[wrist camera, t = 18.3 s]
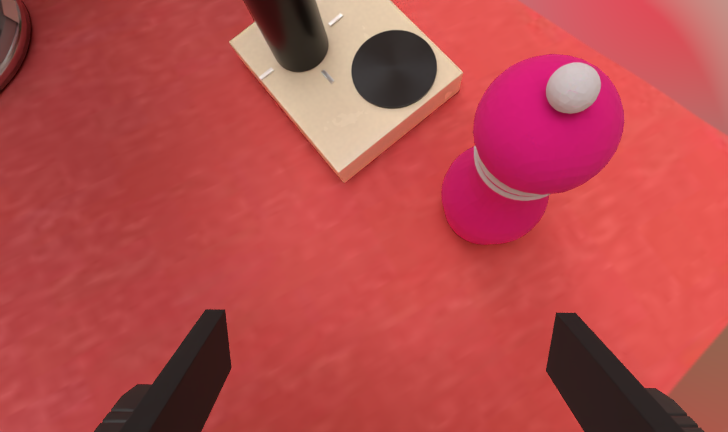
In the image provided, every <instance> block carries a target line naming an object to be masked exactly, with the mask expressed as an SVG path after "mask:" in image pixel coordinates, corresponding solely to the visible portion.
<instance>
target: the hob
mask: <svg viewBox="0 0 728 432" xmlns="http://www.w3.org/2000/svg"><path fill="white" fill-rule="evenodd" d="M316 3H317V6H318V9H319V12H320V15H321V18H322V22H323V25H324V28H325V31H326V34H327V37H328V43H329V46H328V51H327V54H326V56H325V58H324V59H323V61H322V62H321V63H320V64H319V65H318V66H316V67H315V68H313V69H311V70H308V71H305V72H292V71H289V70H286V69H285V68H283V67H282V66H281V65H280V64H279V63H278V62H277V60H276V58H275V57H274V55H273V53H272V51H271V49H270V48H269V46H268V44H267V42H266V40H265V39H264V37H263V35H262V33H261V31H260V30H259V28H258V26H257V24H256V22H254V23H253V24H251V25H250V26H249V27H247V28H246V29H245V30H243V31H242V32H241V33H240V34H238V35H237V36H236V37H234V38H233V39H232V40H231V41H229V43H230V45H231V46H232V47H233V49H234V50H235V52H236V53H237V55H238V56H239V57H240V59H241V60H242V62H243V63H244V64H245V65H246V66H247V68H248V69H249V70H250V71H251V72H252V74H253V75H254V76H255V77H256V78H257V80H258V81H259V82H260V83H261V84H262V86H263V87H264V88H265V89H266V90H267V92H268V93H269V94H270V95H271V96H272V98H273V99H274V100H275V101H276V102H277V104H278V105H279V106H280V107H281V108H282V110H283V111H284V112H285V113H286V114H287V116H288V117H289V118H290V119H291V120H292V122H293V123H294V124H295V125H296V126H297V128H298V129H299V130H300V131H301V132H302V134H303V135H304V136H305V137H306V138H307V140H308V141H309V142H310V143H311V144H312V146H313V147H314V148H315V149H316V150H317V152H318V153H319V154H320V155H321V156H322V158H323V159H324V160H325V161H326V162H327V164H328V165H329V166H330V167H331V168H332V170H333V171H334V172H335V173H336V174H337V176H338V177H339V178H340V179H341V180H342V182H343V183H345V182H347V181H348V180H349V179H350V178H351V177H353V176H354V175H355V174H356V173H358V172H359V171H360V170H361V169H363V168H364V167H365V166H366V165H368V164H369V163H370V162H371V161H373V160H374V159H375V158H376V157H378V156H379V155H380V154H381V153H383V152H384V151H385V150H386V149H388V148H389V147H390V146H391V145H393V144H394V143H395V142H396V141H397V140H399V139H400V138H401V137H402V136H404V135H405V134H406V133H407V132H409V131H410V130H411V129H412V128H414V127H415V126H416V125H417V124H419V123H420V122H421V121H422V120H424V119H425V118H426V117H427V116H429V115H430V114H431V113H432V112H434V111H435V110H436V109H437V108H439V107H440V106H441V105H442V104H443V103H445V102H446V101H447V100H448V99H450V98H451V97H452V96H453V95H455V94H456V93H457V92H458V91H459V89H460V85H461V80H462V76H463V72H462V71H461V70H460V69H459V68H458V67H457V66H456V65H455V64H454V63H453V62H452V61H451V60H450V59H449V58H448V57H447V56H446V55H445V54H444V53H443V52H442V51H441V50H440V49H439V48H438V47H437V46H436V45H435V44H434V43H433V42H432V41H431V40H430V39H429V38H428V37H427V36H426V35H425V34H424V33H423V32H422V31H421V30H420V29H419V28H418V27H417V26H416V25H415V24H414V23H413V22H412V21H411V20H410V19H409V18H408V17H407V16H406V15H405V14H404V13H403V12H402V11H401V10H400V9H398V8H397V7H396V6H395V5H394V4H393V3H392V2H391V1H390V0H316ZM389 30H404V31H409V32H412V33H414V34H416V35H418V36H420V37H421V38H423V39H424V40H425V41H426V42H427V43H428V44H429V45H430V46H431V48H432V49H433V51H434V54H435V57H436V61H437V73H436V78H435V81H434V83H433V85H432V87H431V89H430V90H429V91H428V93H427V94H426V95H425V96H424V97H423V98H421V99H420V100H419V101H417V102H415V103H414V104H412V105H409V106H406V107H403V108H396V109H388V108H382V107H378V106H375V105H373V104H371V103H369V102H368V101H366V100H365V99H364V98H363V97H362V96H361V95H360V94H359V93H358V91H357V90H356V88H355V86H354V83H353V80H352V74H351V68H352V62H353V59H354V56H355V54H356V52H357V51H358V49H359V48H360V46H361V45H362V44H363V43H364V42H365V41H366V40H368V39H369V38H371V37H372V36H374V35H376V34H378V33H381V32H384V31H389Z"/></svg>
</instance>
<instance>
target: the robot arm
mask: <svg viewBox="0 0 728 432" xmlns="http://www.w3.org/2000/svg"><path fill="white" fill-rule="evenodd" d="M30 35H31V24H30V18H29V14H28V11H27V9H26V7H25V5H24V3H23V2H22V1H21V0H0V91H1V90H2V89H3V88H4V87H5V86H6V85H7V84H8V83H9V81H10V80H11V79H12V78H13V76H14V75H15V74H16V72H17V71H18V69H19V68H20V66H21V64H22V62H23V60H24V58H25V55H26V53H27V50H28V46H29V42H30ZM230 370H231V359H230V350H229V341H228V332H227V323H226V314H225V310H205V311H204V313H203V314H202V315H201V317H200V318H199V320H198V321H197V322H196V324H195V325H194V327H193V328H192V329H191V331H190V332H189V334H188V335H187V336H186V338H185V339H184V341H183V342H182V343H181V345H180V346H179V348H178V349H177V350H176V352H175V353H174V355H173V356H172V357H171V359H170V360H169V362H168V363H167V364H166V366H165V367H164V369H163V370H162V371H161V373H160V374H159V376H158V377H157V378H156V380H155V381H154V383H153V384H152V385H148V384H137V385H136V386H135V387H133V388H132V389H131V390H129V391H128V392H127V393H125V394H124V395H123V396H122V397H121V398H120V399H119V400H118V402H117V403H116V404H115V405H114V407H113V408H112V409H111V412H109V413H108V414H107V416H106V417H105V418H104V419H103V422H102V423H100V425H99V426H98V427H97V428H96V430H95V431H94V432H201V431H202V429H203V427H204V424H205V422H206V420H207V418H208V416H209V414H210V412H211V410H212V408H213V406H214V403H215V401H216V399H217V397H218V395H219V393H220V391H221V389H222V387H223V385H224V382H225V380H226V378H227V376H228V374H229V372H230ZM546 372H547V373H548V375H549V376H550V378H551V379H552V381H553V383H554V384H555V386H556V387H557V389H558V391H559V392H560V394H561V395H562V397H563V399H564V400H565V402H566V403H567V405H568V406H569V408H570V410H571V411H572V413H573V414H574V416H575V418H576V419H577V421H578V422H579V424H580V425H581V427H582V429H583V430H584V432H704V431H703V430H702V429H701V428H698V425H697V424H696V423H695V422H694V421H693V420H692V419H691V418H690V417H689V416H687V414H686V412H684V410H682V408H681V407H680V406H679V405H678V404H677V403H676V402H675V401H674V400H672V399H671V398H669V397H668V396H666V395H665V394H663V393H662V392H660V391H659V390H657V389H656V388H644V387H643V386H642V385H641V383H640V382H639V381H638V380H637V379H636V378H635V377H634V376H633V375H632V374H631V373H630V372H629V370H628V369H627V368H626V367H625V366H624V365H623V364H622V363H621V362H620V361H619V360H618V359H617V357H616V356H615V355H614V354H613V353H612V352H611V351H610V350H609V349H608V348H607V347H606V345H605V344H604V343H603V342H602V341H601V340H600V339H599V338H598V337H597V336H596V335H595V334H594V332H593V331H592V330H591V329H590V328H589V327H588V326H587V325H586V324H585V323H584V322H583V321H582V319H581V318H580V317H579V316H578V315H577V314H576V313H556V317H555V322H554V328H553V334H552V340H551V345H550V351H549V357H548V362H547V368H546Z"/></svg>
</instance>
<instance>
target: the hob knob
mask: <svg viewBox="0 0 728 432" xmlns="http://www.w3.org/2000/svg"><path fill="white" fill-rule="evenodd" d="M243 1H244V3H245V5H246V6H247V8H248V10H249V12H250V14H251V15H252V17H253V19H254V21H255V22H256V24H257V26H258V28H259V30H260V31H261V33H262V35H263V37H264V39H265V40H266V42H267V44H268V46H269V48H270V49H271V51H272V53H273V55H274V57H275V58H276V60H277V62H278V63H279V64H280V65H281V66H282V67H283V68H285V69H286V70H289V71H292V72H305V71H308V70H311V69H313V68H315V67H316V66H318V65H319V64H320V63H321V62H322V61H323V59H324V58H325V56H326V54H327V51H328V46H329V43H328V37H327V34H326V31H325V28H324V25H323V22H322V18H321V15H320V12H319V9H318V6H317V3H316V0H243Z"/></svg>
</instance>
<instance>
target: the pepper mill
mask: <svg viewBox="0 0 728 432" xmlns="http://www.w3.org/2000/svg"><path fill="white" fill-rule="evenodd" d="M623 127H624V110H623V107H622V103H621V99H620V96H619V94H618V92H617V90H616V88H615V86H614V84H613V83H612V82H611V80H610V79H609V77H608V76H607V75H605V74H604V73H603V72H602V71H601V70H600V69H599V68H598V67H596V66H594V65H592V64H590V63H588V62H587V61H585V60H583V59H579V58H576V57H572V56H568V55H557V54H549V55H542V56H536V57H532V58H529V59H525V60H523V61H521V62H519V63H517V64H515V65H512V66H511V67H509V68H508V69H506V70H505V71H504V72H503V73H502V74H500V75H499V76H498V77H497V78H496V79H495V80H494V81H493V82H492V83H491V84H490V86H489V87H488V89H487V90H486V92H485V93H484V95H483V97H482V99H481V100H480V102H479V104H478V107H477V110H476V113H475V118H474V128H473V134H474V143H475V146H474V147H472V148H470V149H468V150H466V151H465V152H463V153H462V154H461V155H459V156H458V157H457V158H456V160H455V161H454V162H453V163H452V165H451V166H450V168H449V170H448V171H447V173H446V175H445V178H444V181H443V184H442V192H441V193H442V203H443V207H444V211H445V216H446V219H447V222H448V223H449V225H450V227H451V228H452V229H453V231H454V232H455V233H456V234H457V235H459V236H460V237H461V238H463V239H465V240H467V241H469V242H471V243H475V244H482V245H487V244H502V243H507V242H511V241H514V240H516V239H518V238H520V237H522V236H524V235H525V234H526V233H528V232H529V231H530V230H531V229H532V228H533V227H534V226H535V225H536V224H537V223H538V222H539V221H540V219H541V217H542V216H543V214H544V212H545V209H546V206H547V203H548V198H549V195H550V194H553V193H561V192H565V191H568V190H571V189H573V188H575V187H578V186H580V185H582V184H584V183H585V182H587V181H588V180H590V179H591V178H592V177H594V176H595V175H597V174H598V173H599V172H600V171H601V170H602V169H603V168H604V167H605V166H606V165H607V164H608V162H609V161H610V159H611V158H612V156H613V155H614V153H615V152H616V150H617V147H618V145H619V142H620V140H621V136H622V132H623Z"/></svg>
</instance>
